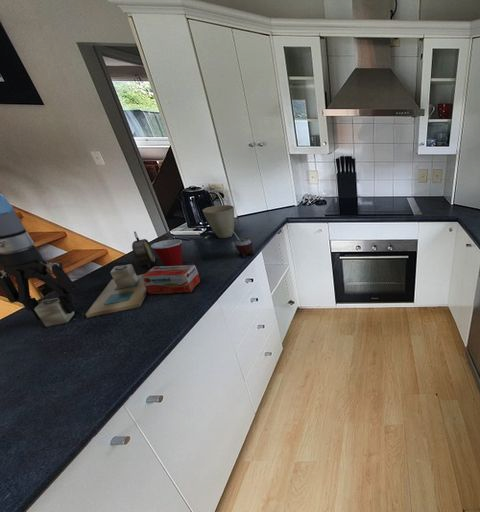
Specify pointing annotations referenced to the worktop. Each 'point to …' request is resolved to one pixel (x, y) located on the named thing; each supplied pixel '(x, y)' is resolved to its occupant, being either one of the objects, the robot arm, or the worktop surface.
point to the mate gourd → (243, 246)
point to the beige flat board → (118, 298)
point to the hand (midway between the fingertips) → (57, 314)
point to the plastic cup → (169, 252)
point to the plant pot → (220, 219)
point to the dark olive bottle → (143, 251)
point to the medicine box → (171, 279)
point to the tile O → (124, 276)
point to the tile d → (52, 312)
